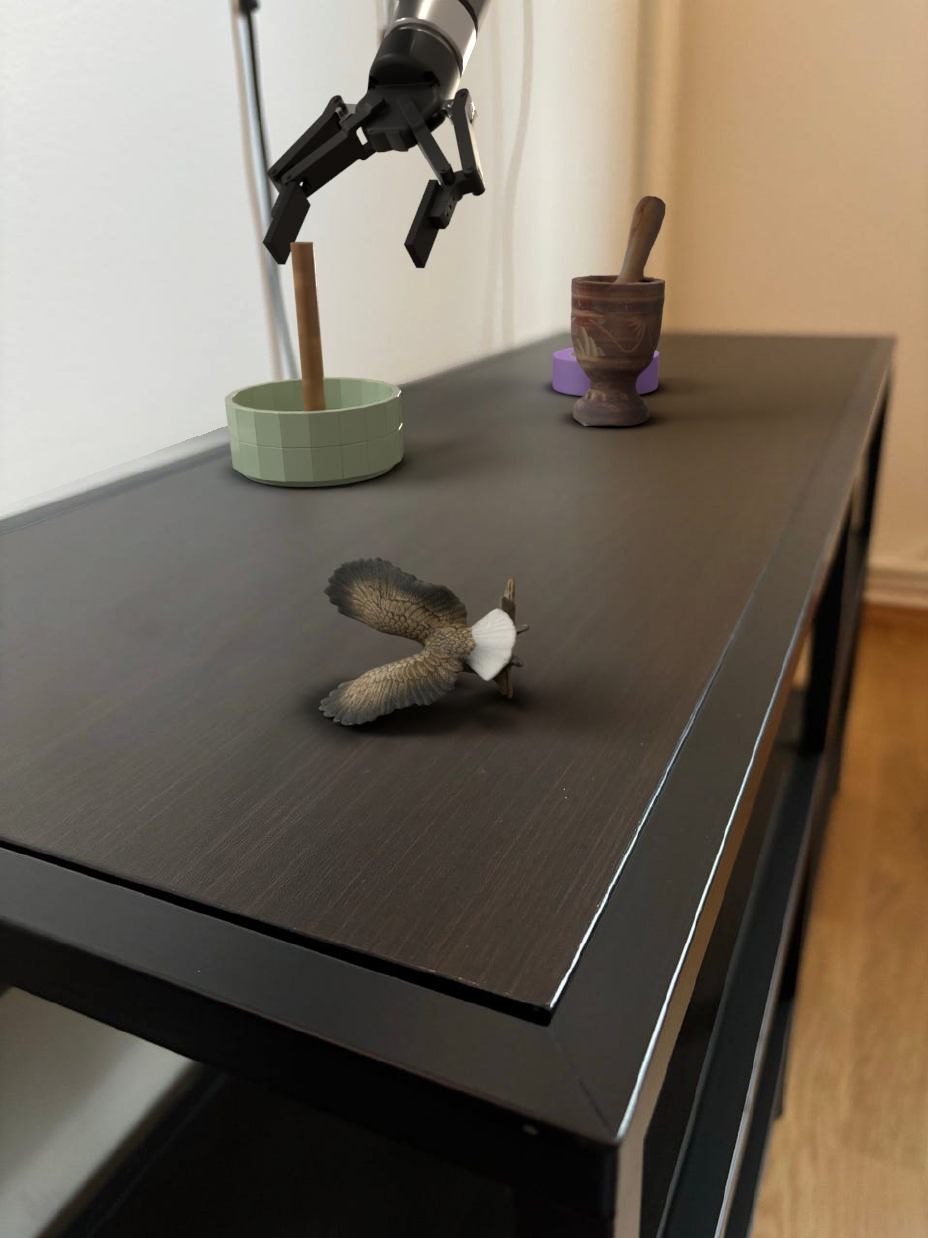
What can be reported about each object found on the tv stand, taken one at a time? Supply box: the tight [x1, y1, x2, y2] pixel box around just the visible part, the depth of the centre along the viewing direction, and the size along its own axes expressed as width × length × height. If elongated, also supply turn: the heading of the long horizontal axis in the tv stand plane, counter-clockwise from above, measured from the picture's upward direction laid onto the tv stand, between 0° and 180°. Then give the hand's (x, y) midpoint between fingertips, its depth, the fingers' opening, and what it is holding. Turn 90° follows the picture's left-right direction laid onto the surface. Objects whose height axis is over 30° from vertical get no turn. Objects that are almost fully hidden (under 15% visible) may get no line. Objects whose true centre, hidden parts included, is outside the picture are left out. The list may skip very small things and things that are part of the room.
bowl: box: [224, 376, 405, 488], centre depth 82 cm, size 14×14×6 cm
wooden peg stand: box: [290, 241, 327, 411], centre depth 80 cm, size 6×6×17 cm
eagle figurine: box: [318, 556, 530, 726], centre depth 45 cm, size 8×7×9 cm
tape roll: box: [552, 347, 660, 397], centre depth 110 cm, size 12×12×4 cm
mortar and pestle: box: [570, 195, 667, 427], centre depth 94 cm, size 12×9×20 cm
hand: (341, 255), depth 81 cm, fingers open, 13 cm apart
